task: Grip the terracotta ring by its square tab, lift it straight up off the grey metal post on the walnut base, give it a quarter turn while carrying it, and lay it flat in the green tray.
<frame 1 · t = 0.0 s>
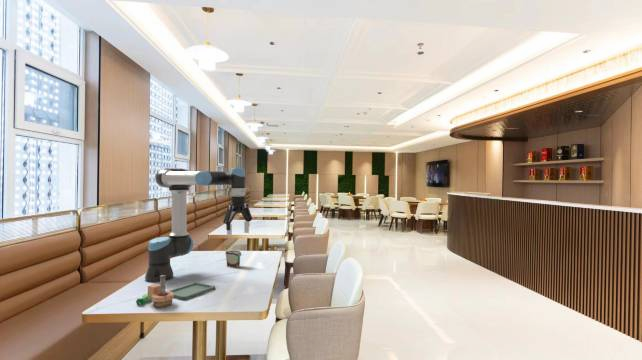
hand: (238, 234, 195), 28 cm above the table, tool pointing down, fingers open, 13 cm apart
tray: (190, 292, 184), on the table
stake: (162, 305, 165), on the table
candy: (146, 301, 171), on the table
ring: (162, 298, 165), point 3 cm above the table, touching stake
food container: (235, 266, 236), on the table
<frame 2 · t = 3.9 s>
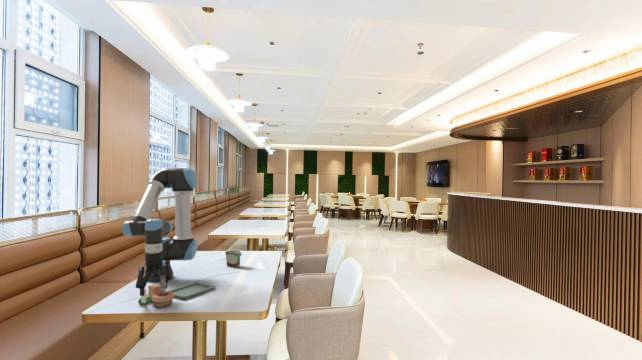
hand: (153, 299, 168), 2 cm above the table, tool pointing down, fingers open, 9 cm apart
candy: (149, 301, 171), on the table, touching gripper
everything else where it was.
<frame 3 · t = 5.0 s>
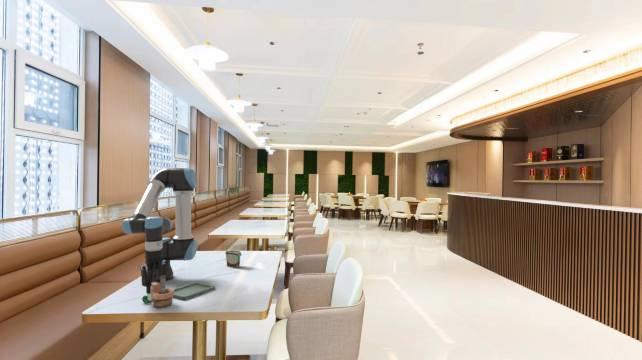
hand: (154, 298, 169), 2 cm above the table, tool pointing down, fingers closed on ring, 3 cm apart
candy: (151, 299, 174), on the table, touching gripper
ring: (163, 296, 165), point 4 cm above the table, touching gripper
everything else where it was.
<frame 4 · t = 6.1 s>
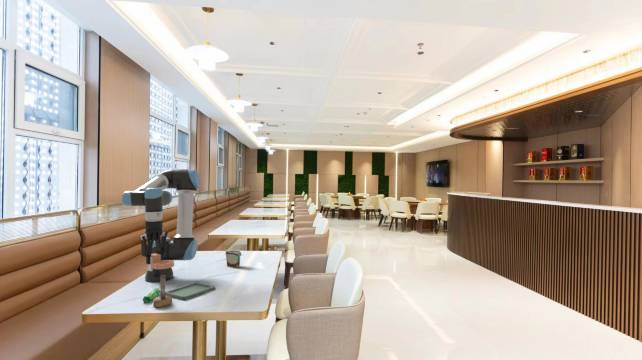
hand: (154, 269, 168), 16 cm above the table, tool pointing down, fingers closed on ring, 3 cm apart
candy: (151, 299, 174), on the table
ring: (163, 266, 165), point 18 cm above the table, touching gripper
everything else where it was.
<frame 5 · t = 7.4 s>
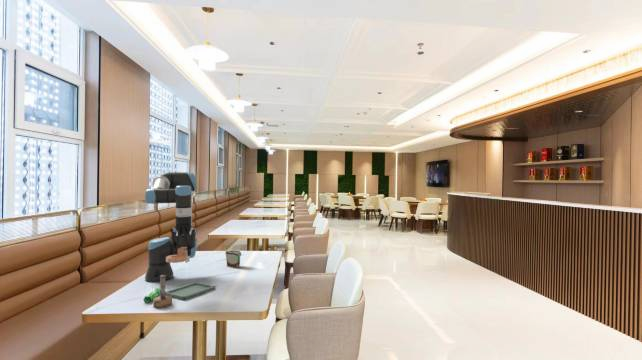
hand: (183, 261, 181), 16 cm above the table, tool pointing down, fingers closed on ring, 3 cm apart
ring: (176, 260, 174), point 19 cm above the table, touching gripper
everything else where it was.
when the fingers open (1 cm above the table, at t = 10.5 s): ring drops 3 cm, resting on tray.
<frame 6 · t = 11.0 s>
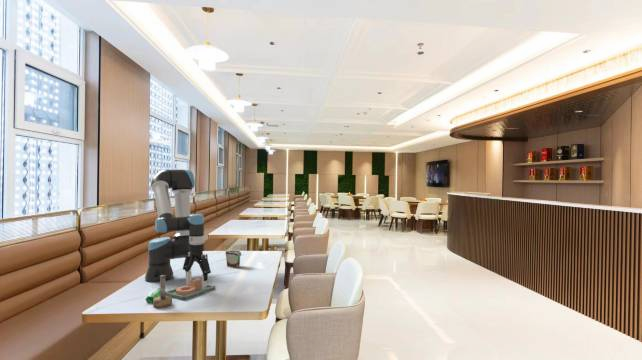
hand: (196, 285, 187), 3 cm above the table, tool pointing down, fingers open, 11 cm apart
candy: (155, 299, 174), on the table
ring: (185, 292, 181), point 1 cm above the table, touching tray
everything else where it was.
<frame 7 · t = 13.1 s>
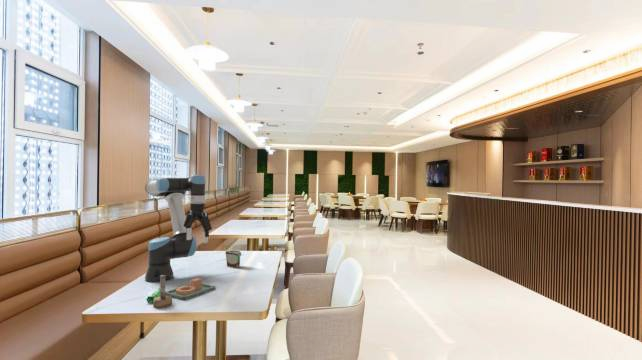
hand: (197, 241, 196), 24 cm above the table, tool pointing down, fingers open, 13 cm apart
nothing on the table moved.
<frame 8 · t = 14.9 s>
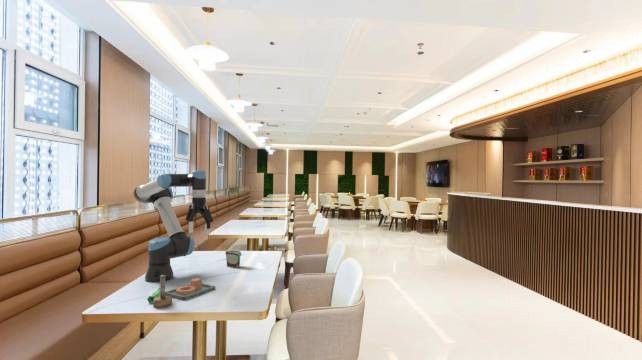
hand: (199, 233, 206), 27 cm above the table, tool pointing down, fingers open, 13 cm apart
nothing on the table moved.
at the end: ring inside the target area (1.8 cm from its centre), point 0.6 cm above the table; ring tilted 0°; the gripper is holding nothing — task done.
